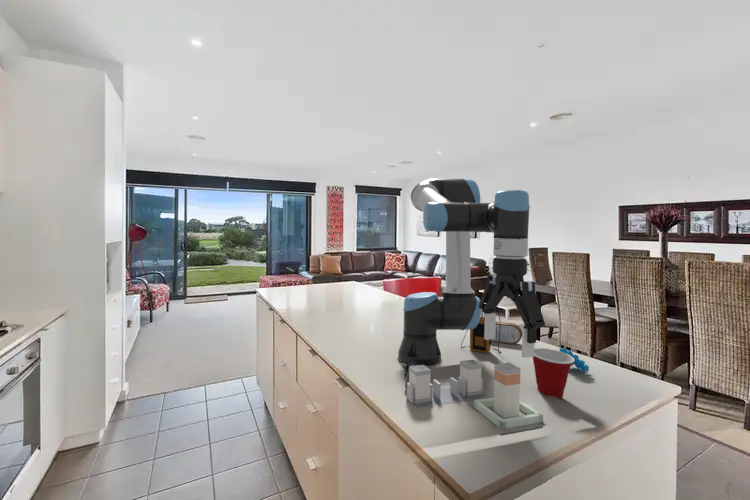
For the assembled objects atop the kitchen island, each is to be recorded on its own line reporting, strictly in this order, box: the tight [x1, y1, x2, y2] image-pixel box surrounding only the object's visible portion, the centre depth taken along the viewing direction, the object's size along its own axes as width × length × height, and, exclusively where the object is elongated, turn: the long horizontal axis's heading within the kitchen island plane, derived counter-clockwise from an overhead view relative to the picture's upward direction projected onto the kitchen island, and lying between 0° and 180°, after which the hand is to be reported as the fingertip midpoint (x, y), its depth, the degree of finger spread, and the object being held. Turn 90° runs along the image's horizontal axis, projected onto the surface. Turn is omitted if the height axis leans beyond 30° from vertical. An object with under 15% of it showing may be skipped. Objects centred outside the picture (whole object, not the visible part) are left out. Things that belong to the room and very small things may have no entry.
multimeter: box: [460, 306, 502, 354], centre depth 141 cm, size 15×10×20 cm
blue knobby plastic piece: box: [558, 347, 590, 372], centre depth 118 cm, size 11×6×10 cm
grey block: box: [409, 365, 432, 404], centre depth 92 cm, size 4×4×8 cm
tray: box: [472, 396, 544, 437], centre depth 85 cm, size 11×11×3 cm
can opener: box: [402, 361, 418, 390], centre depth 104 cm, size 18×7×6 cm, turn 166°
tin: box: [491, 321, 522, 345], centre depth 150 cm, size 15×3×8 cm, turn 65°
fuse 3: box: [493, 362, 522, 419], centre depth 85 cm, size 4×4×12 cm
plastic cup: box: [532, 347, 575, 401], centre depth 98 cm, size 11×11×12 cm
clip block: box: [404, 375, 488, 408], centre depth 95 cm, size 8×21×6 cm, turn 108°
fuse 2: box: [459, 359, 483, 396], centre depth 97 cm, size 4×4×8 cm
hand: (507, 347), depth 85 cm, fingers open, 13 cm apart
